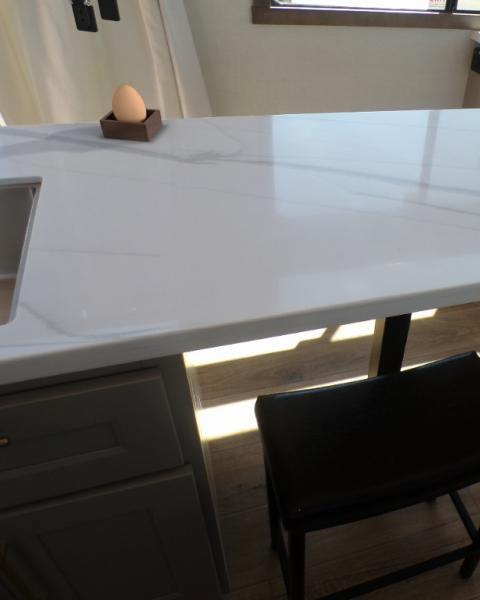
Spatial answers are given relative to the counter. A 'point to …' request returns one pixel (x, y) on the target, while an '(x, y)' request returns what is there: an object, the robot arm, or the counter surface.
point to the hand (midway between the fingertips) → (100, 25)
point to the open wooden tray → (132, 127)
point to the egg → (128, 105)
